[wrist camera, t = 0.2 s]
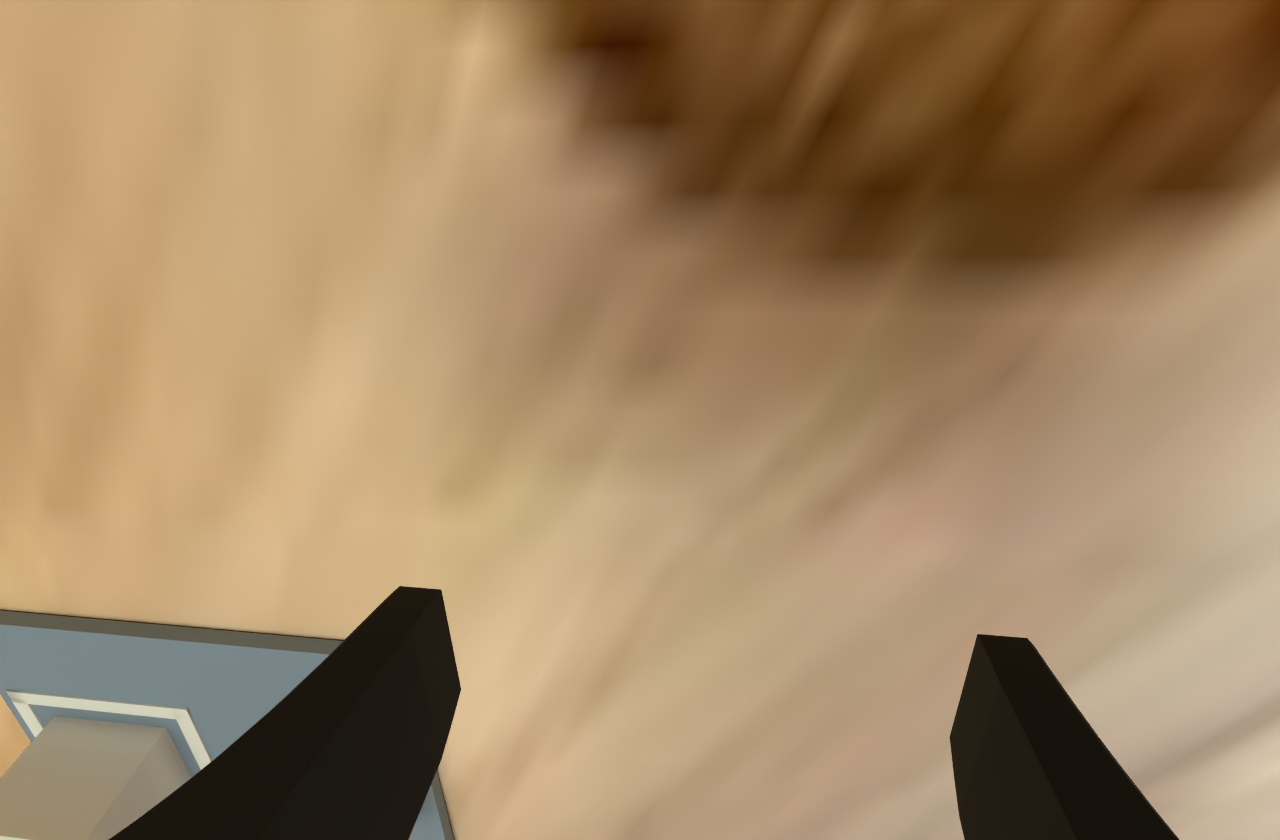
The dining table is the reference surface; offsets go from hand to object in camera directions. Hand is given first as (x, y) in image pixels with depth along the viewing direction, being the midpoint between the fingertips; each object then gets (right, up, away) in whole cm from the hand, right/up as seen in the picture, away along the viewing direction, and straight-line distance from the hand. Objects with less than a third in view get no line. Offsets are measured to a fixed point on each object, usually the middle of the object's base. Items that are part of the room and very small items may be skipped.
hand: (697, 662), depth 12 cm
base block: (-20, -10, +21) cm, 30 cm away
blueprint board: (-16, -10, +21) cm, 28 cm away
